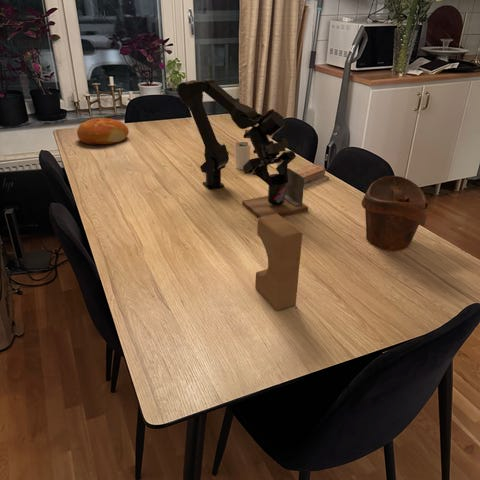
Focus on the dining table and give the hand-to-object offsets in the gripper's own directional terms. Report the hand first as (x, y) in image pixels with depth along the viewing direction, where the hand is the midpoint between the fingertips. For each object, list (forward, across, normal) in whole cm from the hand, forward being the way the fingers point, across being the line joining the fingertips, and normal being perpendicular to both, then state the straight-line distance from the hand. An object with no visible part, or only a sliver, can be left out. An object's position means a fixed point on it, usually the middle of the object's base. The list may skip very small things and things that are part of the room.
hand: (279, 184), depth 151 cm
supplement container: (+4, 0, +6) cm, 7 cm away
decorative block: (+33, -32, -20) cm, 50 cm away
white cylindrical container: (-22, +14, +36) cm, 44 cm away
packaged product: (-4, +26, +18) cm, 32 cm away
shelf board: (+5, 0, +8) cm, 10 cm away
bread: (-68, -21, +84) cm, 110 cm away
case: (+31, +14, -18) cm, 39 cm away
